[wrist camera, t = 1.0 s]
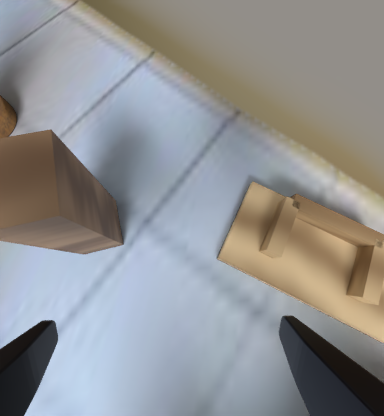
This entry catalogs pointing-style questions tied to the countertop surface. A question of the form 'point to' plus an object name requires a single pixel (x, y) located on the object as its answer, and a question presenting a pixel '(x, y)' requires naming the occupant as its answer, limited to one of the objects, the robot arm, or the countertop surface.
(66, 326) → the countertop surface
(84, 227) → the walnut board piece
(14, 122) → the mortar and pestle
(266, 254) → the oak base board
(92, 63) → the countertop surface
